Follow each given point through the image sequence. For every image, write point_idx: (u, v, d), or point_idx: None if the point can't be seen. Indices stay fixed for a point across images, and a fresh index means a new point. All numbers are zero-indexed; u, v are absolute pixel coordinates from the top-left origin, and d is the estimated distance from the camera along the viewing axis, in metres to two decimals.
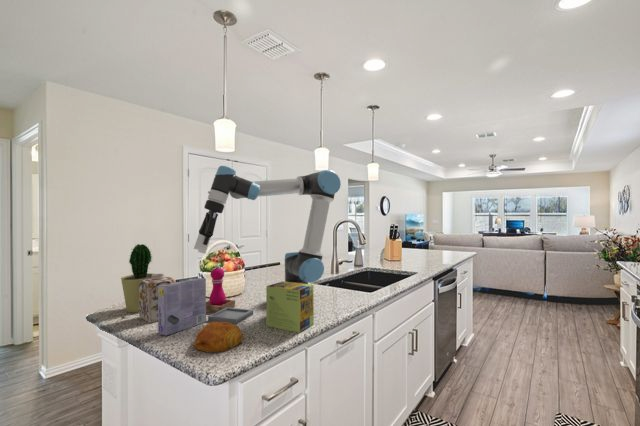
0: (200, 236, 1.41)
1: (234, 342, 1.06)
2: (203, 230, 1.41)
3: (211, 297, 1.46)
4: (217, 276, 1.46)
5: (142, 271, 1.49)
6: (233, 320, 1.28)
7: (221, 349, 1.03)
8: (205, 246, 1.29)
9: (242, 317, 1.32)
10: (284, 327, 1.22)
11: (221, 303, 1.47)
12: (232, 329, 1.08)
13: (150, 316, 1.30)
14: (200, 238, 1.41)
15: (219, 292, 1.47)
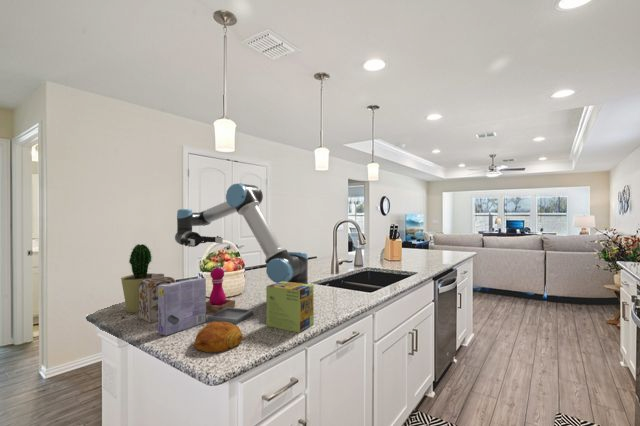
0: (216, 241, 1.65)
1: (234, 342, 1.06)
2: (212, 240, 1.66)
3: (211, 297, 1.46)
4: (217, 276, 1.46)
5: (142, 271, 1.49)
6: (233, 320, 1.28)
7: (221, 349, 1.03)
8: (190, 241, 1.53)
9: (242, 317, 1.32)
10: (284, 327, 1.22)
11: (221, 303, 1.47)
12: (232, 329, 1.08)
13: (150, 316, 1.30)
14: (216, 240, 1.64)
15: (219, 292, 1.47)
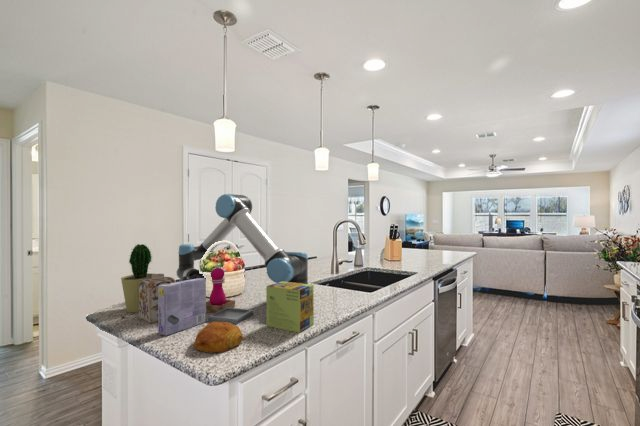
0: None
1: (234, 342, 1.06)
2: None
3: (211, 297, 1.46)
4: (217, 276, 1.46)
5: (142, 271, 1.49)
6: (233, 320, 1.28)
7: (221, 349, 1.02)
8: None
9: (242, 317, 1.32)
10: (284, 327, 1.22)
11: (221, 303, 1.47)
12: (232, 330, 1.08)
13: (150, 316, 1.30)
14: None
15: (219, 292, 1.47)
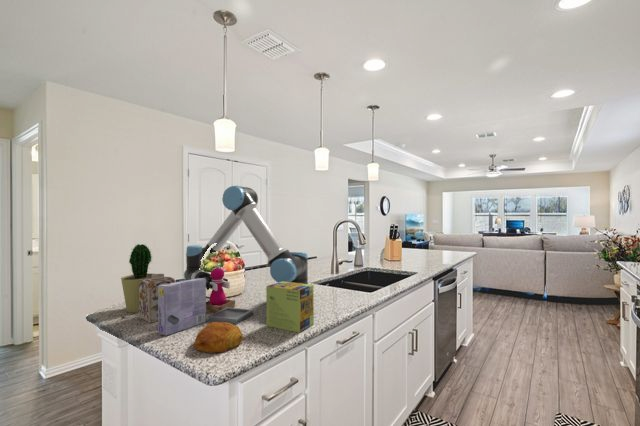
0: (222, 284, 1.51)
1: (234, 342, 1.06)
2: None
3: (211, 297, 1.46)
4: (217, 276, 1.46)
5: (142, 271, 1.49)
6: (233, 320, 1.28)
7: (221, 350, 1.02)
8: (213, 285, 1.45)
9: (242, 317, 1.32)
10: (284, 327, 1.22)
11: (221, 303, 1.47)
12: (232, 330, 1.08)
13: (150, 316, 1.30)
14: (223, 284, 1.50)
15: (219, 292, 1.47)
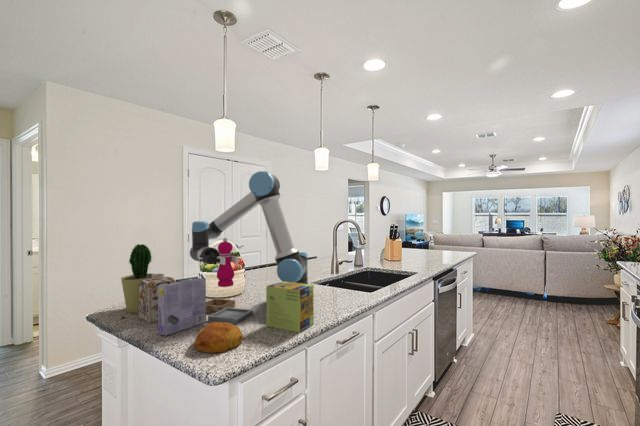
0: (230, 259, 1.41)
1: (234, 342, 1.05)
2: None
3: (218, 272, 1.36)
4: (225, 249, 1.36)
5: (142, 271, 1.49)
6: (233, 320, 1.28)
7: (221, 350, 1.02)
8: (220, 259, 1.35)
9: (242, 317, 1.32)
10: (284, 327, 1.22)
11: (229, 279, 1.37)
12: (232, 330, 1.08)
13: (150, 316, 1.30)
14: (231, 259, 1.40)
15: (227, 267, 1.37)
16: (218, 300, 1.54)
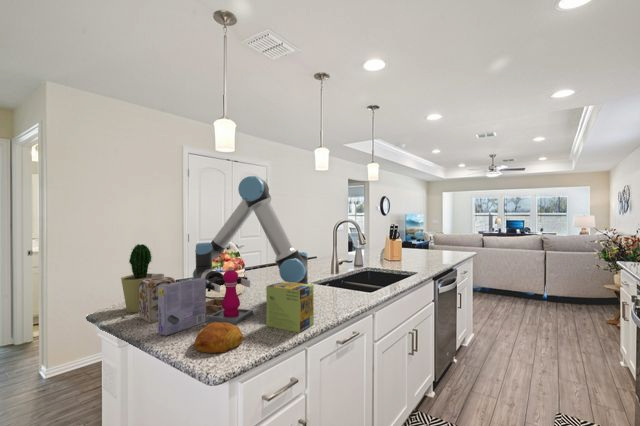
0: (242, 283, 1.42)
1: (234, 343, 1.05)
2: (237, 281, 1.44)
3: (224, 302, 1.34)
4: (231, 279, 1.33)
5: (142, 271, 1.49)
6: (233, 320, 1.28)
7: (221, 350, 1.02)
8: (215, 286, 1.31)
9: (242, 317, 1.32)
10: (284, 327, 1.22)
11: (235, 308, 1.34)
12: (232, 330, 1.07)
13: (150, 316, 1.30)
14: (243, 282, 1.42)
15: (233, 296, 1.34)
16: (218, 300, 1.54)
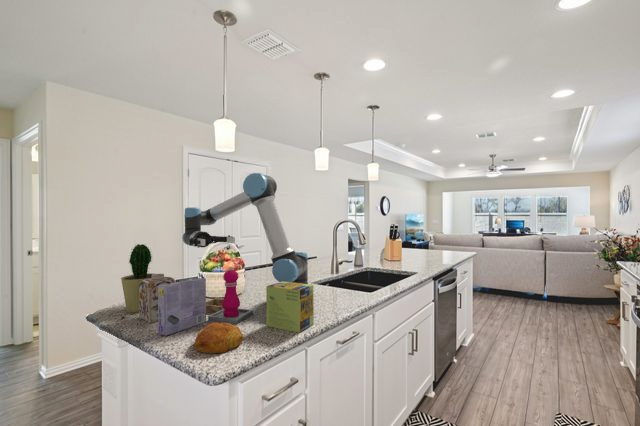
0: (227, 240, 1.52)
1: (234, 343, 1.05)
2: (223, 240, 1.54)
3: (224, 302, 1.34)
4: (231, 279, 1.34)
5: (142, 271, 1.49)
6: (233, 320, 1.28)
7: (221, 350, 1.02)
8: (201, 241, 1.41)
9: (242, 317, 1.32)
10: (284, 327, 1.22)
11: (235, 308, 1.34)
12: (232, 330, 1.07)
13: (150, 316, 1.30)
14: (228, 240, 1.51)
15: (233, 296, 1.34)
16: (218, 300, 1.54)
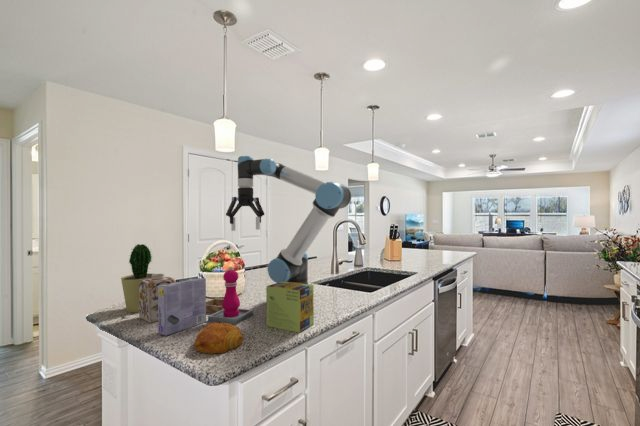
0: (256, 218, 1.69)
1: (234, 343, 1.05)
2: (255, 213, 1.69)
3: (224, 302, 1.34)
4: (231, 279, 1.34)
5: (142, 271, 1.49)
6: (233, 320, 1.28)
7: (221, 351, 1.02)
8: (233, 225, 1.59)
9: (242, 317, 1.32)
10: (284, 327, 1.22)
11: (235, 308, 1.34)
12: (232, 331, 1.07)
13: (150, 316, 1.30)
14: (256, 220, 1.69)
15: (233, 296, 1.34)
16: (218, 300, 1.54)
